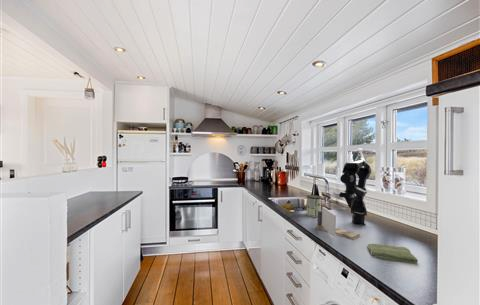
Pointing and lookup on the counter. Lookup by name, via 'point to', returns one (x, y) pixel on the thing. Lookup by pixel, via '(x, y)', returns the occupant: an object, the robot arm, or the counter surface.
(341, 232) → the door base
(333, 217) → the door
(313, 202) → the glass jar
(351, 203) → the robot arm
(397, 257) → the washcloth
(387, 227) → the counter surface
